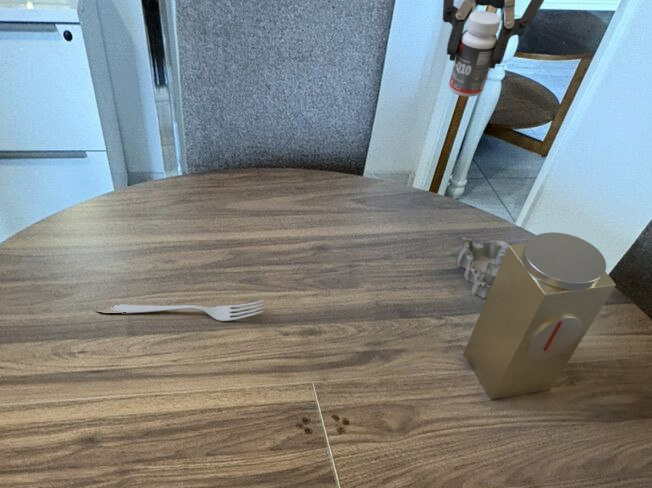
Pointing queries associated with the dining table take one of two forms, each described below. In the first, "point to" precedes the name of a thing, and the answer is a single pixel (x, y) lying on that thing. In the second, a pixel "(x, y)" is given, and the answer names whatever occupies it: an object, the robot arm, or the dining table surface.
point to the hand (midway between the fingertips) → (472, 60)
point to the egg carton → (481, 263)
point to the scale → (537, 313)
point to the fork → (216, 312)
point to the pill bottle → (475, 54)
